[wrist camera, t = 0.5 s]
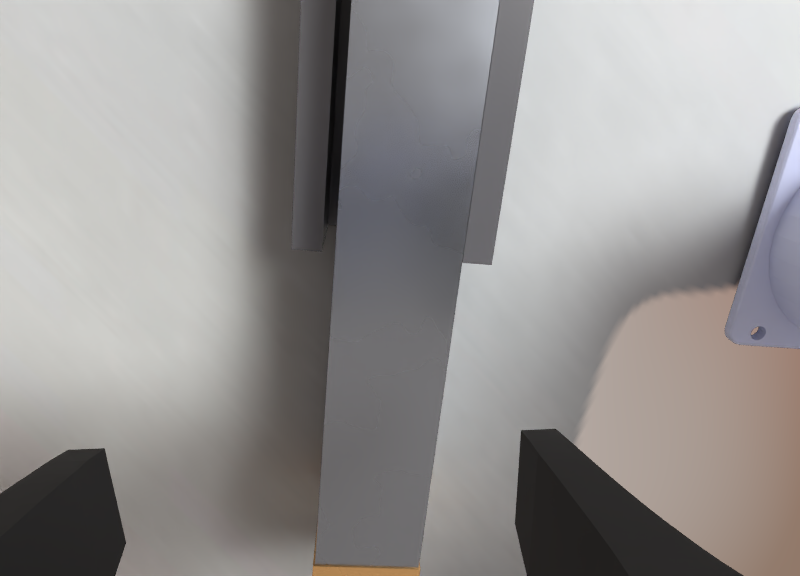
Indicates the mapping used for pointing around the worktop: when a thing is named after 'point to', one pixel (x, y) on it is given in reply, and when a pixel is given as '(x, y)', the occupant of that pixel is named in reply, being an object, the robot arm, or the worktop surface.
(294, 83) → the worktop surface
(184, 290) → the worktop surface
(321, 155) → the grey u-shaped channel
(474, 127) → the bar
